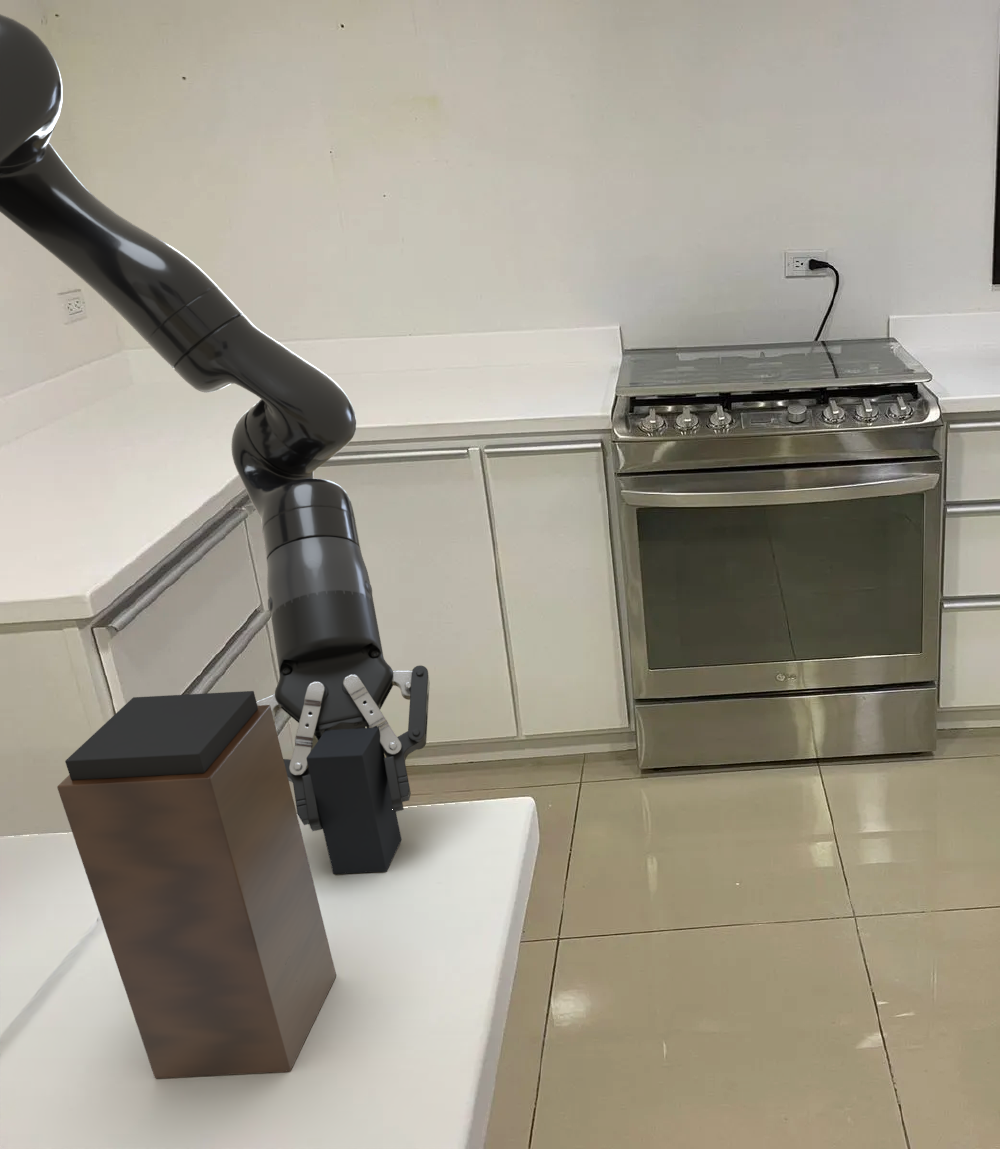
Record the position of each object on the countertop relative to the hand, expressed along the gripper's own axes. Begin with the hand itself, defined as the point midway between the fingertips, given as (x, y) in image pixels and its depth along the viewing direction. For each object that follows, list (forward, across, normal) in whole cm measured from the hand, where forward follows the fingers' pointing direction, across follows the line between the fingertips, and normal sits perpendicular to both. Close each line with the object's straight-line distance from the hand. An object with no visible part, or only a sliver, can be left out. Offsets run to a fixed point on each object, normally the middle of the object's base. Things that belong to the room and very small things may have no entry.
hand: (357, 817), depth 81 cm
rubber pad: (-1, +8, +20) cm, 22 cm away
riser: (+13, +8, +6) cm, 16 cm away
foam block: (+2, 0, -5) cm, 5 cm away
